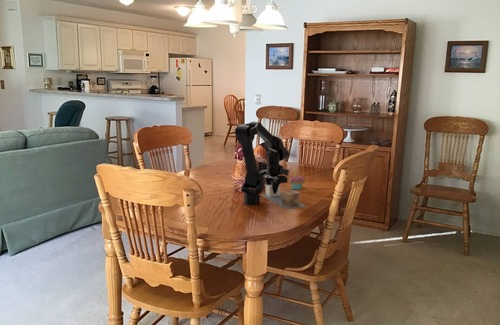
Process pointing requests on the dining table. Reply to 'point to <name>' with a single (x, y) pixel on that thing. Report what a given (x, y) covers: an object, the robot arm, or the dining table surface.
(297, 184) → the cupcake
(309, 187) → the dining table surface
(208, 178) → the dining table surface
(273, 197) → the flat grey tray
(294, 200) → the cube
